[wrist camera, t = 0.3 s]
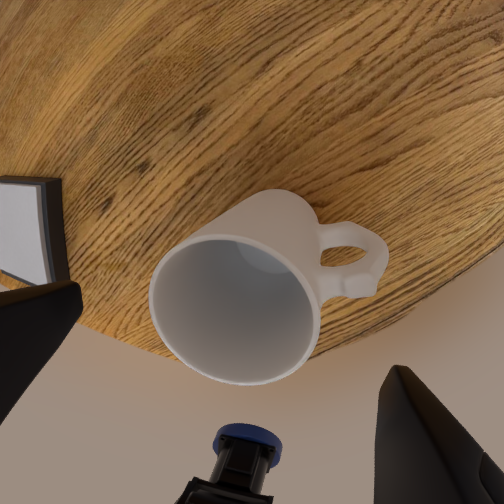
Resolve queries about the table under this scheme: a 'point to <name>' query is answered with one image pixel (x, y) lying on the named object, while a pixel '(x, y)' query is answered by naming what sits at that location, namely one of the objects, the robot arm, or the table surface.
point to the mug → (257, 287)
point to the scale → (32, 230)
